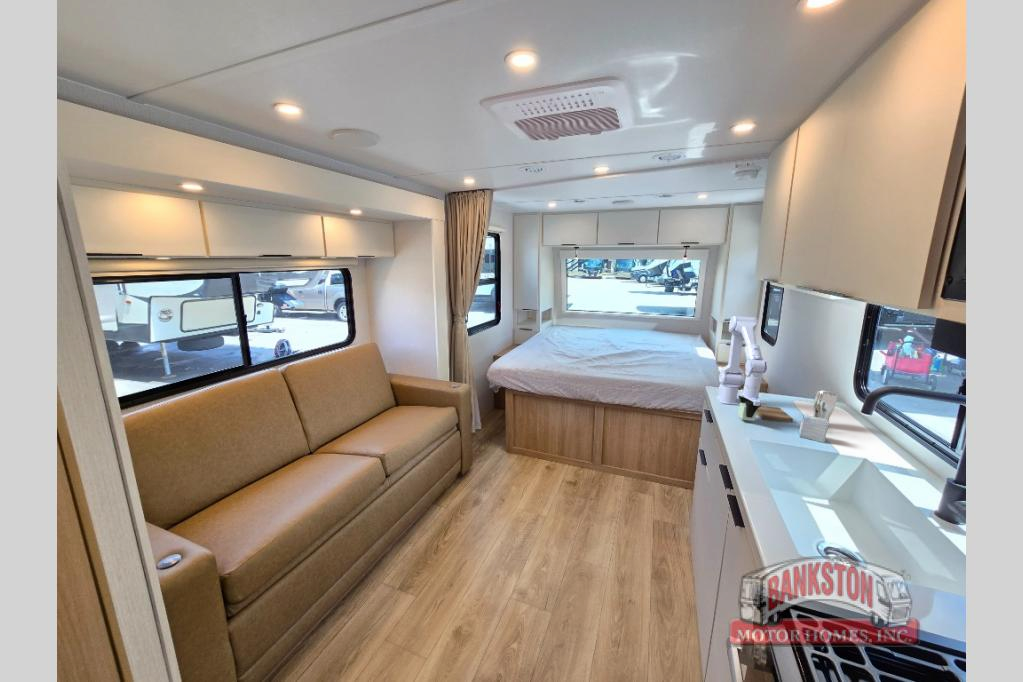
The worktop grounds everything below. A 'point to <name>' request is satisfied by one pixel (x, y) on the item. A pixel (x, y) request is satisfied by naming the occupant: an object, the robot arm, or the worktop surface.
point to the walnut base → (773, 414)
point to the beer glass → (824, 404)
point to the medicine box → (813, 428)
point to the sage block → (744, 413)
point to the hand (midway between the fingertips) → (746, 414)
